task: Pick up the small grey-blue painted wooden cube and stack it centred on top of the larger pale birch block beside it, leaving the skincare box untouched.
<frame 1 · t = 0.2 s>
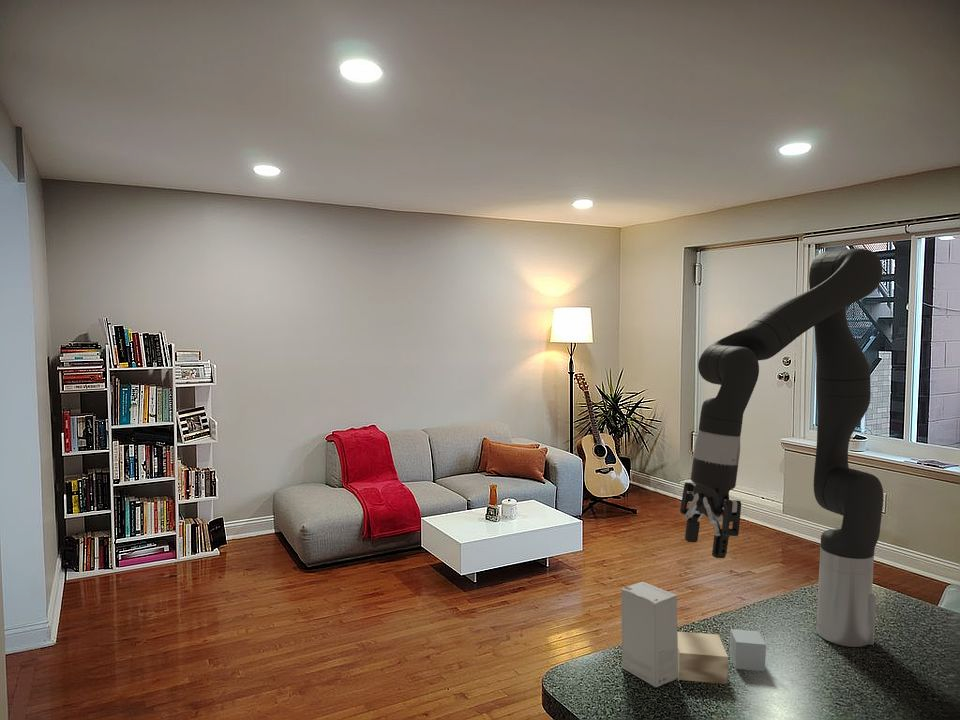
hand: (704, 549, 119), 21 cm above the countertop, tool pointing down, fingers open, 8 cm apart
birch block: (698, 670, 120), on the countertop
grey-blue cube: (746, 663, 122), on the countertop
skincare box: (647, 674, 118), on the countertop
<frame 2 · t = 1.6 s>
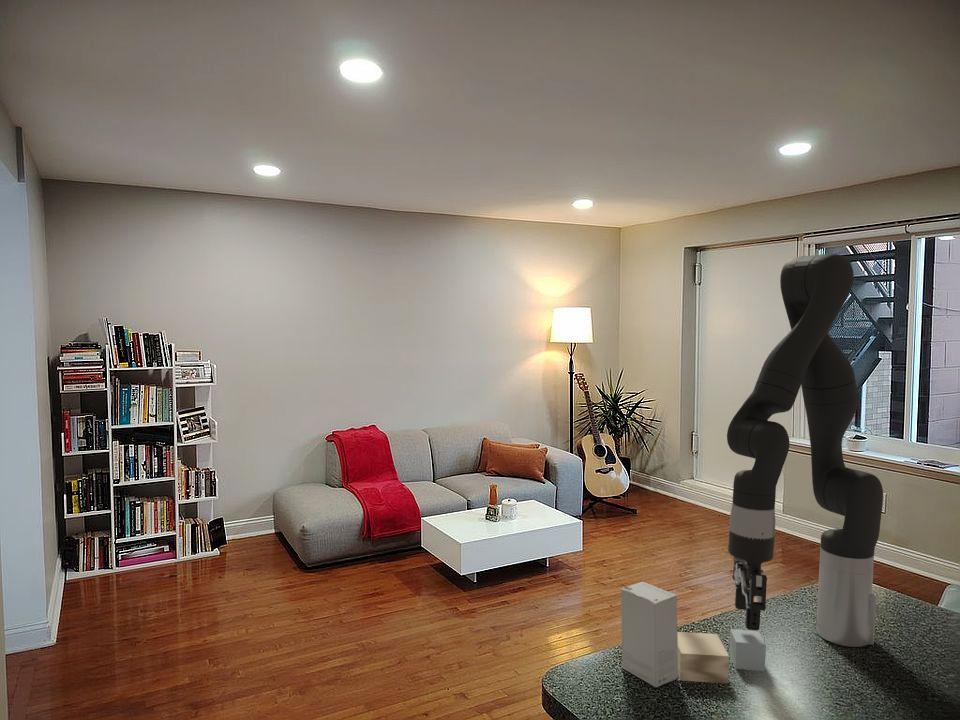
hand: (746, 618, 121), 8 cm above the countertop, tool pointing down, fingers open, 8 cm apart
nothing on the countertop moved.
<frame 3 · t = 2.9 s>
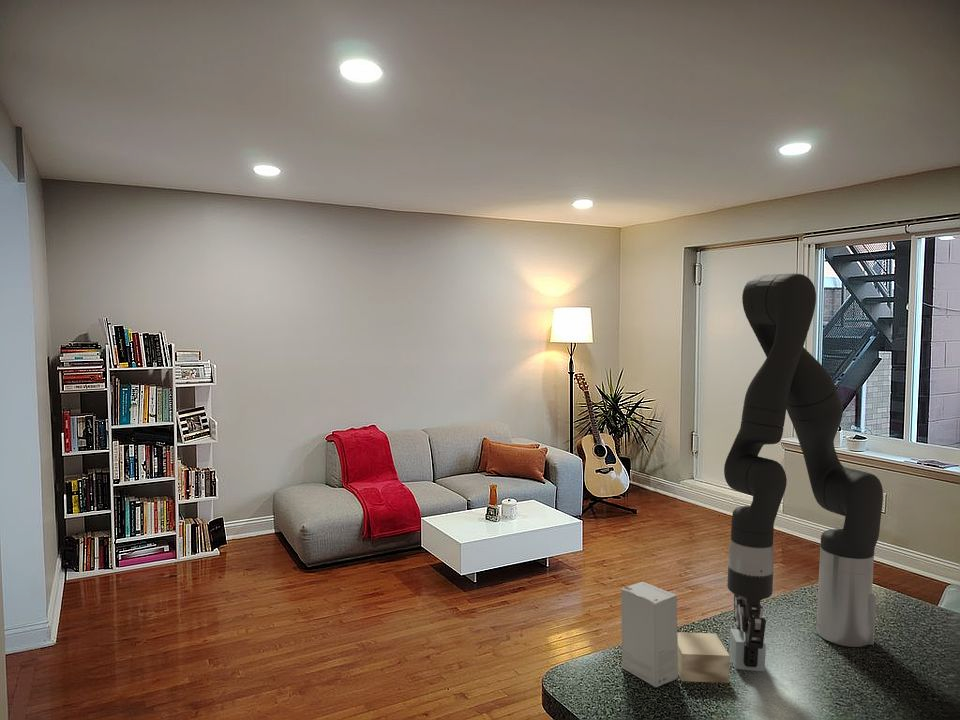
hand: (746, 657, 122), 1 cm above the countertop, tool pointing down, fingers closed on grey-blue cube, 5 cm apart
grey-blue cube: (746, 662, 122), on the countertop, touching gripper
everything else where it was.
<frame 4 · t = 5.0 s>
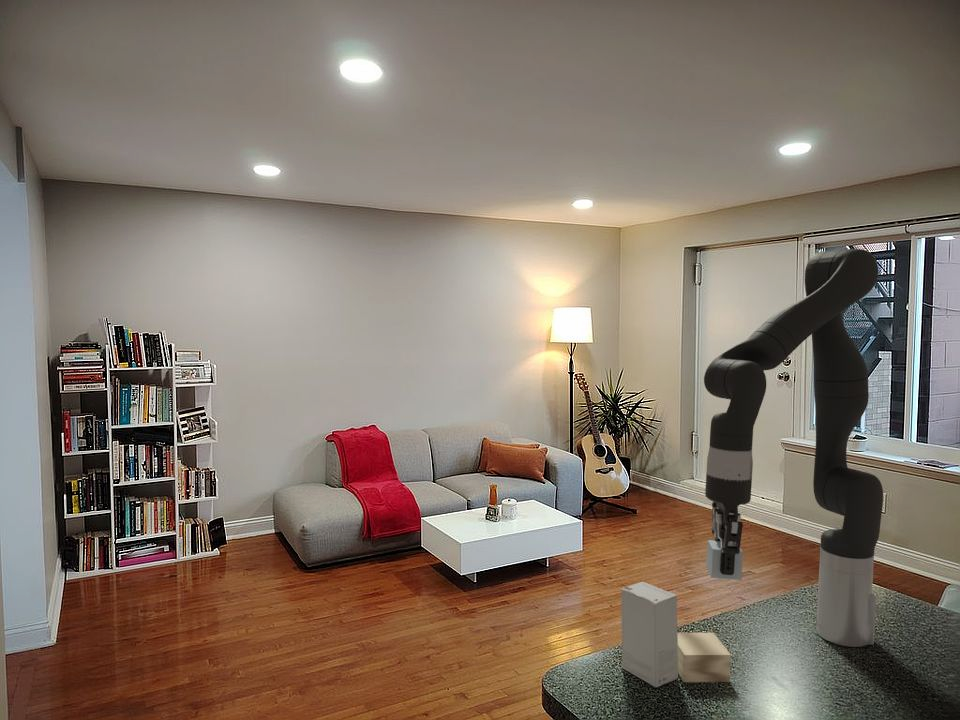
hand: (723, 567, 119), 18 cm above the countertop, tool pointing down, fingers closed on grey-blue cube, 5 cm apart
grey-blue cube: (723, 573, 119), point 17 cm above the countertop, touching gripper
everything else where it was.
when the fingers open (7 cm above the countertop, at t = 7.1 s): grey-blue cube drops 2 cm, resting on birch block.
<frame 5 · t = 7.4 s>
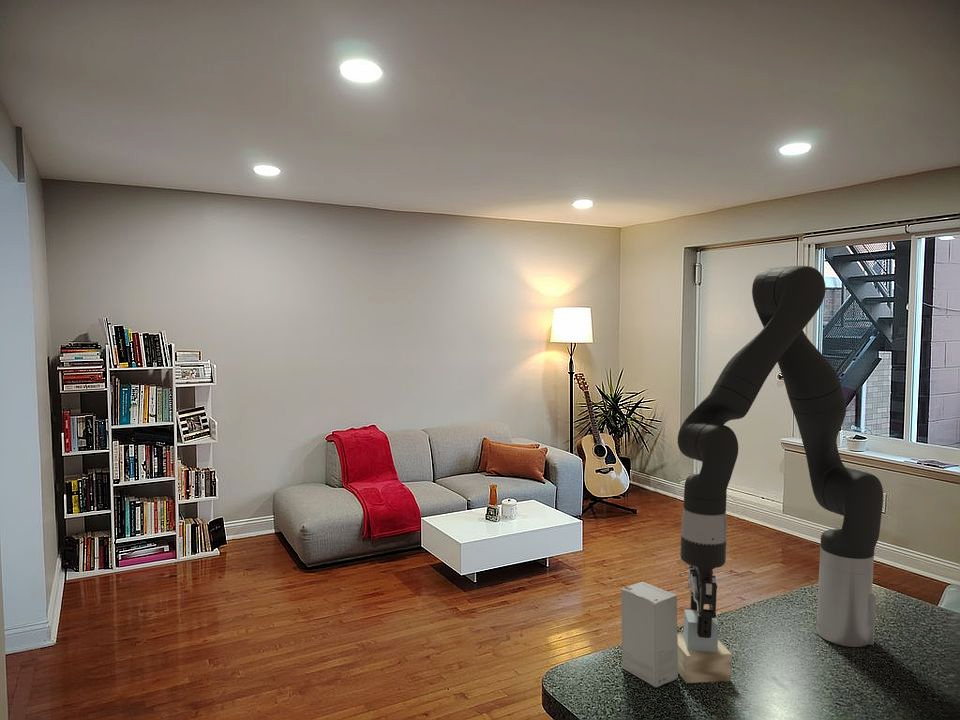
hand: (700, 626, 119), 8 cm above the countertop, tool pointing down, fingers open, 7 cm apart
birch block: (698, 670, 120), on the countertop, touching grey-blue cube
grey-blue cube: (699, 644, 119), point 5 cm above the countertop, touching birch block
everything else where it was.
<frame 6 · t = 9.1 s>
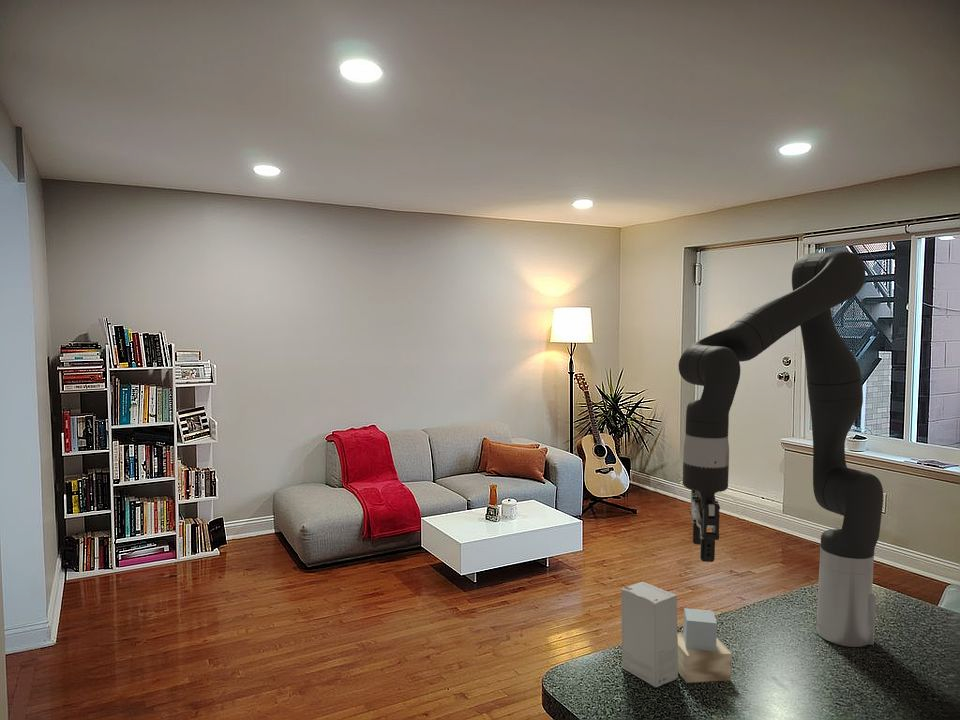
hand: (702, 552, 118), 21 cm above the countertop, tool pointing down, fingers open, 8 cm apart
nothing on the countertop moved.
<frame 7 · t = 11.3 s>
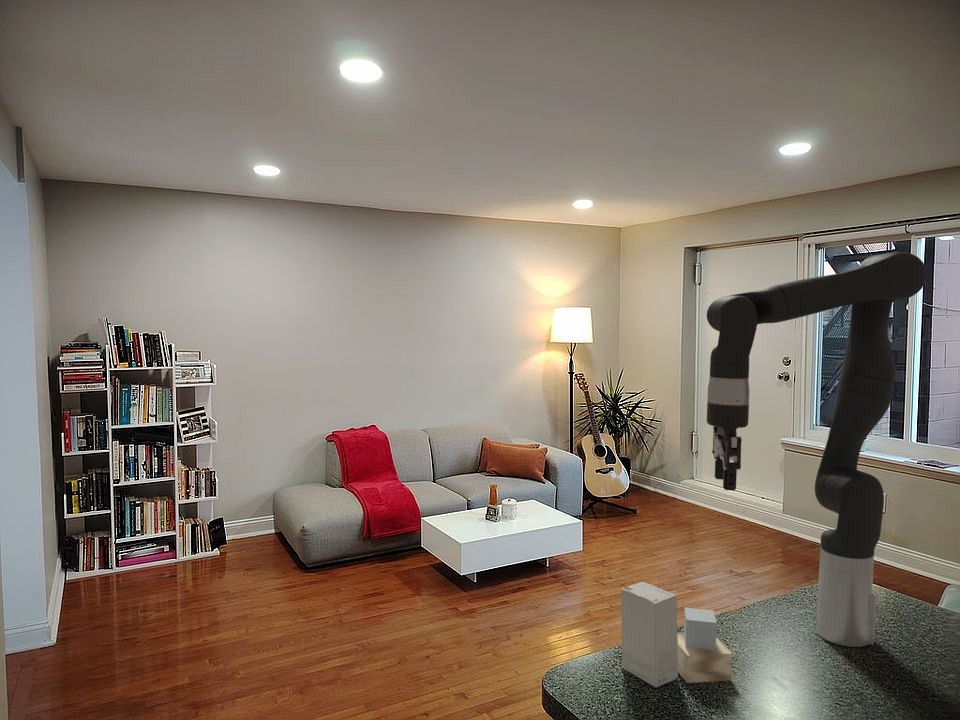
hand: (724, 484, 130), 30 cm above the countertop, tool pointing down, fingers open, 8 cm apart
nothing on the countertop moved.
at the end: grey-blue cube 0.2 cm off-centre on the birch block, point 5.0 cm above the birch block's base; grey-blue cube tilted 0°; the gripper is holding nothing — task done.
